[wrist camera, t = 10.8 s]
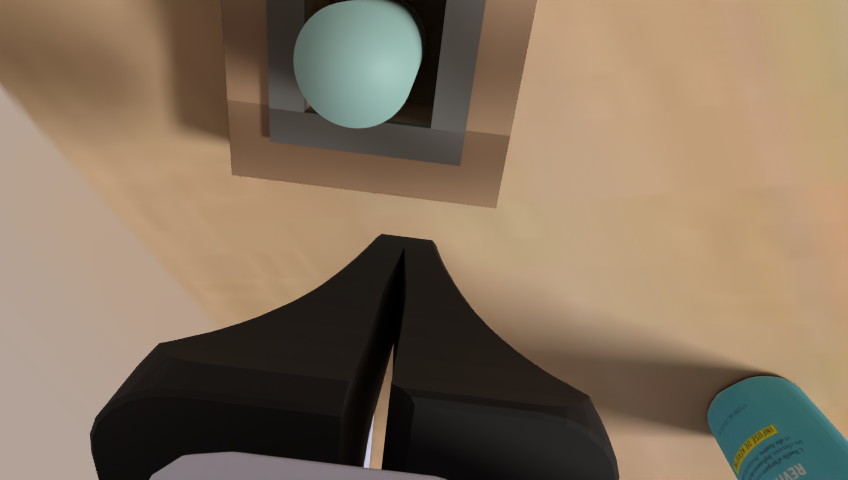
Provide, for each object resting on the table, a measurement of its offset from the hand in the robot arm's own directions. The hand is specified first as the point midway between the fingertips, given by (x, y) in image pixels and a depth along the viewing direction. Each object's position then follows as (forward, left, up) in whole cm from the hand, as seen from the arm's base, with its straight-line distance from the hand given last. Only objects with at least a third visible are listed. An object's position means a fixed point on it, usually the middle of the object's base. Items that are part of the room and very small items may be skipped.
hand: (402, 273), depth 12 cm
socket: (+4, +2, -10) cm, 11 cm away
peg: (+4, +2, -10) cm, 11 cm away
